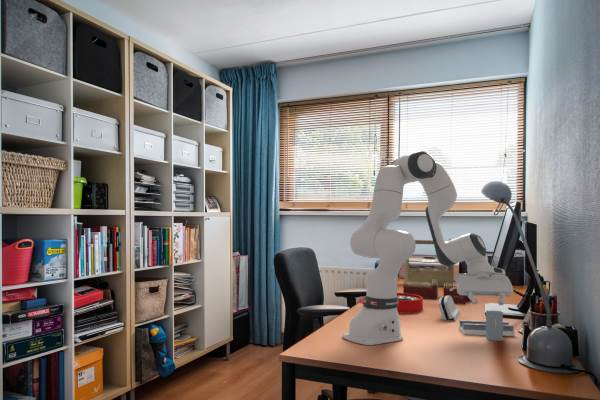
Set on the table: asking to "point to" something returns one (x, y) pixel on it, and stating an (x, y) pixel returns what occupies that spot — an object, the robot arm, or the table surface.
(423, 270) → the caddy
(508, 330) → the track base
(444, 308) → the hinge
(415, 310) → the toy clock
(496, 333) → the door panel
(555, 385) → the table surface
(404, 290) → the toy houses
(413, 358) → the table surface
